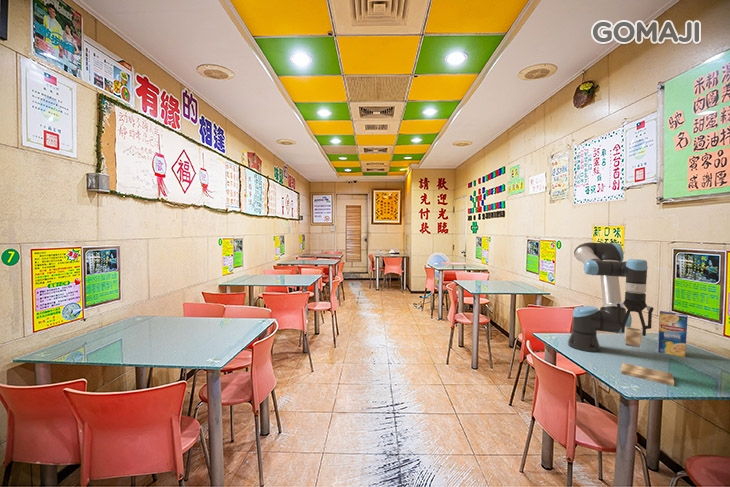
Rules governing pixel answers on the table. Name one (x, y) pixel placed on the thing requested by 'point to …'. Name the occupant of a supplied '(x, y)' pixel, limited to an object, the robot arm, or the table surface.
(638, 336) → the block
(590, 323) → the robot arm
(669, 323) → the blue food box
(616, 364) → the table surface
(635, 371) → the board
